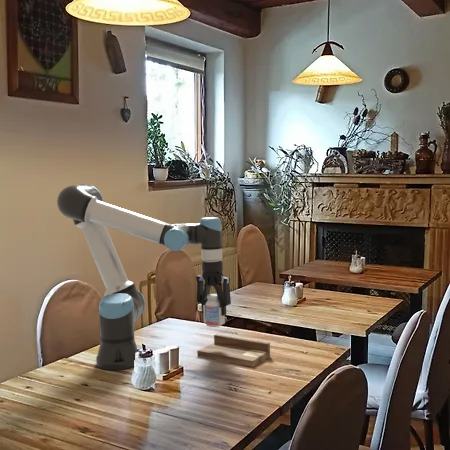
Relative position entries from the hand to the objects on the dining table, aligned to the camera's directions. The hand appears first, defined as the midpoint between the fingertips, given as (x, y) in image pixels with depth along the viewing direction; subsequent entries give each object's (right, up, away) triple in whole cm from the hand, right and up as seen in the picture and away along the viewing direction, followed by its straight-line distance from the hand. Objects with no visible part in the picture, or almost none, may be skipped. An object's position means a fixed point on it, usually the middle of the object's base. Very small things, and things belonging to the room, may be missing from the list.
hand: (214, 322), depth 215 cm
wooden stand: (+7, -11, -5) cm, 14 cm away
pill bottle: (0, -1, 0) cm, 1 cm away
